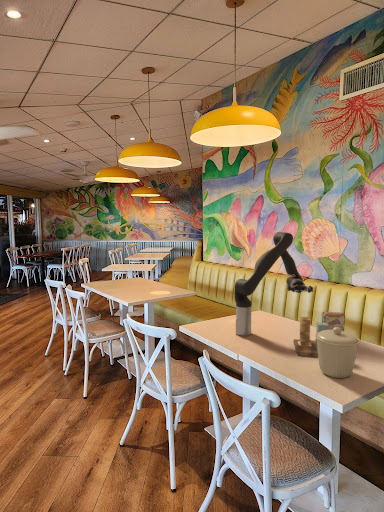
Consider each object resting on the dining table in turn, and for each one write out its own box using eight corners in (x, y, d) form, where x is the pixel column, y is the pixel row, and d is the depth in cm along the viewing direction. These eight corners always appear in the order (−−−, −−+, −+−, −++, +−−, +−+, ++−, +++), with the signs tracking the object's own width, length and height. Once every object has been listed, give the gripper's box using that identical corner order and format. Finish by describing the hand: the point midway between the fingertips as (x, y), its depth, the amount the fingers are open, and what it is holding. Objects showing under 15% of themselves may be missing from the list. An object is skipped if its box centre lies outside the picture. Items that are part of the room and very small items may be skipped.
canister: (305, 370, 150) (307, 326, 148) (328, 361, 161) (330, 318, 158) (343, 386, 135) (345, 337, 133) (366, 375, 146) (368, 328, 144)
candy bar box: (323, 342, 185) (324, 314, 183) (320, 339, 190) (321, 311, 188) (344, 343, 184) (345, 314, 182) (341, 339, 189) (342, 312, 187)
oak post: (300, 344, 176) (301, 319, 174) (299, 341, 180) (300, 316, 179) (309, 345, 175) (310, 319, 174) (308, 342, 180) (308, 317, 178)
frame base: (297, 355, 167) (298, 325, 165) (293, 342, 185) (294, 314, 183) (331, 357, 164) (332, 326, 163) (323, 344, 182) (324, 316, 180)
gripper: (286, 279, 206) (289, 284, 191) (310, 280, 204) (314, 284, 188) (285, 291, 207) (288, 296, 191) (309, 291, 205) (314, 297, 189)
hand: (301, 290), depth 190 cm, fingers open, 8 cm apart
